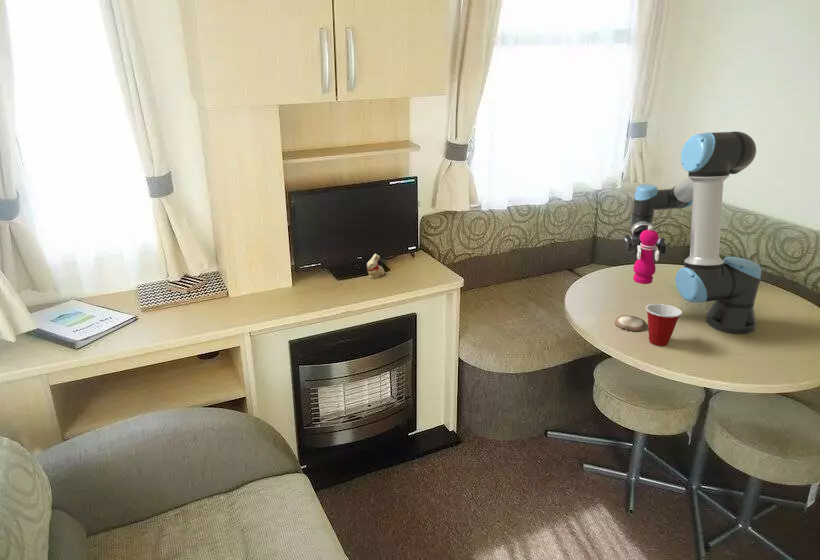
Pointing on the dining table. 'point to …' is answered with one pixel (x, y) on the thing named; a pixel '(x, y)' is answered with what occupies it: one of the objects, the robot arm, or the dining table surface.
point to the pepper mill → (646, 257)
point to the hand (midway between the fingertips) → (648, 256)
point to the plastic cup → (661, 323)
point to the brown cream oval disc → (630, 323)
